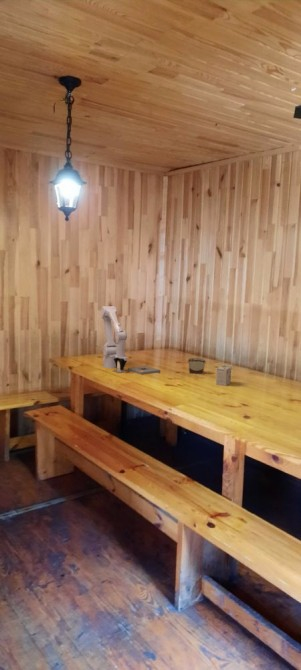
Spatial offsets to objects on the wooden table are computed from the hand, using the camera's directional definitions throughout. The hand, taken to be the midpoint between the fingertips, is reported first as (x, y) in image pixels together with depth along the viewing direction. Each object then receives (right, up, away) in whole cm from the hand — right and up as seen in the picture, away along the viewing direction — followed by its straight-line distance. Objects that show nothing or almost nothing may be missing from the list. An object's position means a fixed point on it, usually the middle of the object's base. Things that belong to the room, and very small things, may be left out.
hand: (120, 369), depth 330 cm
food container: (+52, -3, +9) cm, 53 cm away
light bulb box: (+67, -8, -21) cm, 71 cm away
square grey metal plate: (0, -2, 0) cm, 2 cm away
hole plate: (+16, -3, +4) cm, 17 cm away
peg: (0, -1, 0) cm, 1 cm away
